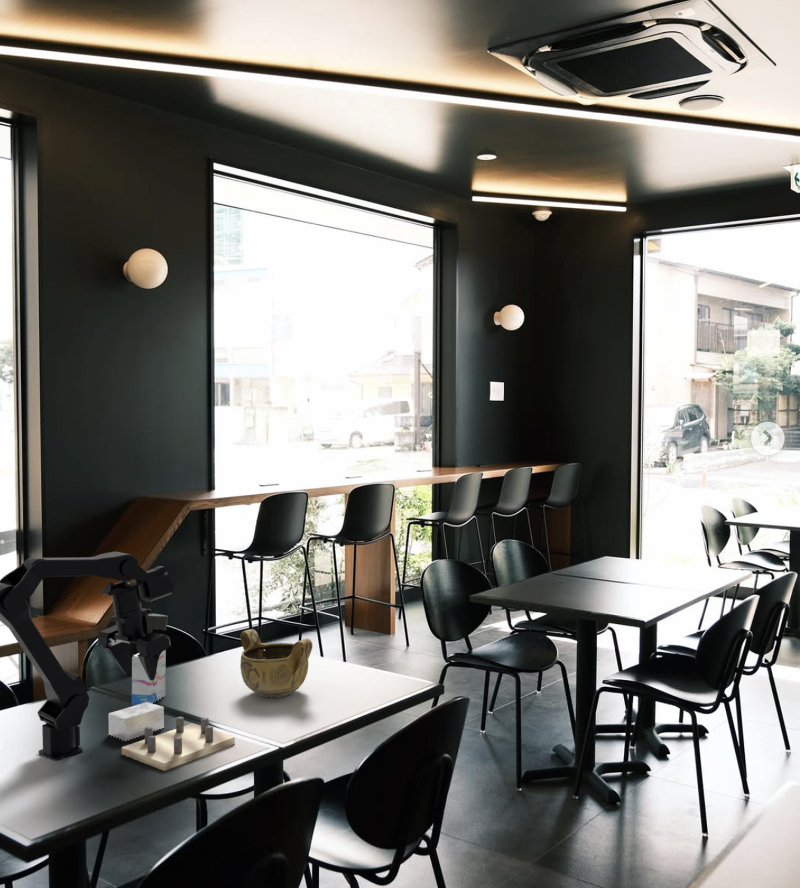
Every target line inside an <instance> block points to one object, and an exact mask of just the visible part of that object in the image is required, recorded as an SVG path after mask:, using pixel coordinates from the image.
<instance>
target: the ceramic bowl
mask: <svg viewBox="0 0 800 888" xmlns="http://www.w3.org/2000/svg"><path fill="white" fill-rule="evenodd" d="M239 637H240V643H241V644H242V645H241V646H242V649H243V651H242V652H241V656H240V663H239V664H240V665H239V666H240V667H239V668H240V675H241V677H242V680H243V683H244V684H245V686H246V687H247V688H248V689H249V690H250V691H252V692H253V693H255V694H257V695H260V696H261V697H265V698H270V699H271V698H272V699H273V698H275V699H277V698H282V697H283V698H284V697H286V696H288V695H291V694H293V693H294V692H296V691H297V690H298V689H299V688H301V686H302V685H303V683H305V680H306V679H307V675H308V671H309V658H310V656H311V653H312V651H313V642H312V639H310V638H307V637H306V638H303V639H301V640H298V641H296V642H295V643H292V642H273V643H272V642H271V643H263V642H261V639H260V636H259V633H258V632H257V631H256V630H255V629H246V630H243V631H242V632H241V633H240V636H239ZM276 697H277V698H276Z"/></svg>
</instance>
